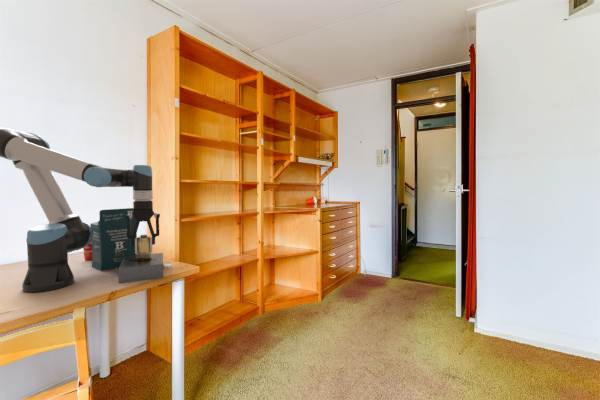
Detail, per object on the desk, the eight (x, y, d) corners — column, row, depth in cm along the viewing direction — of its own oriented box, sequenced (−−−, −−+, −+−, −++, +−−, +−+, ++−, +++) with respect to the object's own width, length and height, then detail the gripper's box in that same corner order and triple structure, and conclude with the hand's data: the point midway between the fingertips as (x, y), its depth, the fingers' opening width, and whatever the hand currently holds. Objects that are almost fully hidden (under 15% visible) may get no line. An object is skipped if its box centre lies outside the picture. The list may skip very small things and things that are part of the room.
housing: (118, 283, 116) (118, 268, 115) (125, 268, 136) (124, 256, 135) (163, 277, 123) (162, 263, 122) (163, 265, 142) (162, 252, 142)
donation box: (101, 271, 132) (99, 210, 130) (88, 265, 141) (86, 208, 140) (138, 263, 144) (137, 207, 143) (124, 258, 154) (123, 206, 153)
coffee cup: (78, 260, 150) (77, 231, 150) (93, 256, 158) (92, 229, 157) (90, 261, 148) (89, 232, 147) (105, 257, 156) (104, 230, 155)
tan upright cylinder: (137, 266, 126) (136, 236, 125) (137, 263, 130) (137, 234, 130) (150, 264, 128) (150, 235, 127) (150, 262, 133) (150, 233, 132)
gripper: (117, 201, 120) (118, 256, 122) (165, 200, 128) (166, 252, 129) (120, 200, 127) (121, 252, 128) (165, 199, 135) (166, 249, 136)
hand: (143, 252), depth 129 cm, fingers closed on tan upright cylinder, 5 cm apart
